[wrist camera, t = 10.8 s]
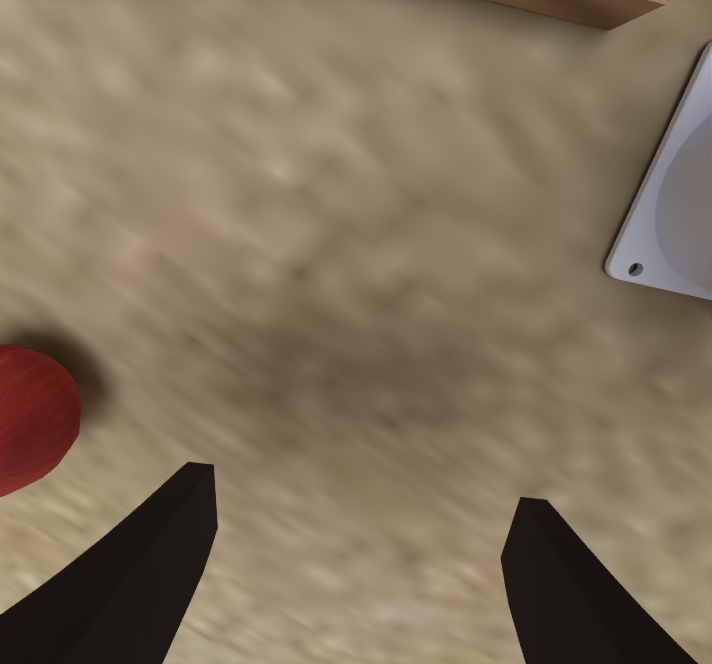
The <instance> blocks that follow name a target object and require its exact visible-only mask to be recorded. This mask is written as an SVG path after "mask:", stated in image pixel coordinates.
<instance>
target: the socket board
mask: <svg viewBox="0 0 712 664" xmlns="http://www.w3.org/2000/svg"><path fill="white" fill-rule="evenodd" d="M487 1H491V2H496V3H500V4H504V5H508V6H512V7H516V8H520V9H524V10H528V11H532V12H536V13H541V14H545V15H549V16H553V17H557V18H561V19H565V20H569V21H573V22H577V23H581V24H586V25H590V26H594V27H598V28H602V29H606V30H611V29H613V28H616V27H618V26H620V25H622V24H624V23H626V22H629V21H631V20H633V19H635V18H637V17H639V16H642V15H644V14H646V13H648V12H650V11H652V10H655V9H657V8H659V7H661V6H663V5H665V4H666V2H667V0H487Z"/></svg>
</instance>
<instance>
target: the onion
mask: <svg viewBox="0 0 712 664" xmlns="http://www.w3.org/2000/svg"><path fill="white" fill-rule="evenodd" d="M81 408H82V401H81V398H80V395H79V391H78V388H77V385H76V382H75V380H74V379H73V378H72V376H71V375H70V374H69V372H68V371H67V370H66V368H65V367H63V366H62V365H60V364H59V363H58V362H56V361H55V360H53V359H52V358H51V357H49V356H46V355H44V354H41V353H38V352H35V351H33V350H30V349H27V348H24V347H21V346H18V345H0V497H2V496H5V495H8V494H10V493H12V492H14V491H16V490H18V489H21V488H23V487H25V486H27V485H29V484H31V483H33V482H35V481H37V480H39V479H41V478H43V477H44V476H45V475H47V474H48V473H49V472H50V471H51V470H53V469H54V468H55V467H56V466H57V465H58V464H59V463H60V461H61V460H62V459H63V457H64V456H65V454H66V453H67V452H68V450H69V449H70V448H71V446H72V444H73V443H74V441H75V440H76V438H77V436H78V435H79V427H80V415H81Z"/></svg>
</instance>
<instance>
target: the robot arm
mask: <svg viewBox="0 0 712 664" xmlns="http://www.w3.org/2000/svg"><path fill="white" fill-rule="evenodd" d="M634 263H637V264H638V265H637V269H636V270H635V271H634V272H632V273H628V270H629V267H630V266H631V265H632V264H634ZM605 271H606V272H607V274H608V275H610V276H611V277H613V278H615V279H619V280H623V281H628V282H632V283H637V284H641V285H646V286H650V287H655V288H659V289H664V290H668V291H673V292H677V293H682V294H686V295H691V296H695V297H700V298H704V299H709V300H712V41H711V42H710V43H709V44H708V45H707V46H706V48H705V50H704V51H703V53H702V56H701V58H700V60H699V62H698V64H697V66H696V68H695V71H694V73H693V75H692V77H691V79H690V81H689V84H688V86H687V88H686V90H685V92H684V94H683V97H682V99H681V101H680V103H679V105H678V107H677V109H676V112H675V114H674V116H673V118H672V120H671V122H670V125H669V127H668V129H667V131H666V133H665V135H664V137H663V140H662V142H661V144H660V146H659V148H658V150H657V153H656V155H655V157H654V159H653V161H652V163H651V166H650V168H649V170H648V172H647V174H646V176H645V178H644V181H643V183H642V185H641V187H640V189H639V191H638V194H637V196H636V198H635V200H634V202H633V204H632V207H631V209H630V211H629V213H628V215H627V217H626V219H625V222H624V224H623V226H622V228H621V230H620V232H619V235H618V237H617V239H616V241H615V243H614V245H613V248H612V250H611V252H610V254H609V256H608V258H607V260H606V264H605ZM217 529H218V523H217V508H216V492H215V476H214V465H212V464H203V463H193V462H188V463H186V464H185V465H184V466H182V467H181V468H180V469H179V470H178V471H177V472H176V473H175V474H174V475H173V476H171V477H170V478H169V479H168V480H167V481H166V482H165V483H164V484H163V485H162V486H161V487H160V488H158V489H157V490H156V491H155V492H154V493H153V494H152V495H151V496H150V497H149V498H147V499H146V500H145V501H144V502H143V503H142V504H141V505H140V506H139V507H137V508H136V509H135V510H134V511H133V512H132V513H130V514H129V515H128V516H127V517H126V518H125V519H124V520H122V521H121V522H120V523H119V524H118V525H117V526H115V527H114V528H113V529H112V530H111V531H110V532H109V533H107V534H106V535H105V536H104V537H103V538H101V539H100V540H99V541H98V542H96V543H95V544H94V545H93V546H91V547H90V548H89V549H88V550H86V551H85V552H84V553H83V554H81V555H80V556H79V557H78V558H76V559H75V560H74V561H73V562H71V563H70V564H69V565H68V566H66V567H65V568H64V569H63V570H61V571H60V572H59V573H57V574H56V575H55V576H53V577H52V578H51V579H49V580H48V581H47V582H45V583H44V584H43V585H41V586H40V587H39V588H37V589H36V590H35V591H33V592H32V593H30V594H29V595H28V596H26V597H25V598H23V599H22V600H21V601H19V602H18V603H16V604H15V605H14V606H12V607H11V608H9V609H8V610H6V611H5V612H4V613H2V614H1V615H0V664H162V663H163V661H164V659H165V657H166V654H167V652H168V650H169V648H170V646H171V643H172V641H173V639H174V637H175V634H176V632H177V630H178V628H179V626H180V623H181V621H182V619H183V617H184V615H185V612H186V610H187V608H188V606H189V603H190V601H191V599H192V597H193V594H194V592H195V590H196V588H197V585H198V583H199V581H200V579H201V576H202V574H203V572H204V569H205V566H206V563H207V560H208V557H209V554H210V551H211V548H212V544H213V541H214V538H215V535H216V532H217ZM501 564H502V570H503V576H504V582H505V587H506V593H507V598H508V603H509V608H510V611H511V615H512V618H513V622H514V625H515V629H516V632H517V635H518V639H519V642H520V646H521V649H522V653H523V656H524V659H525V663H526V664H698V663H697V662H696V661H695V660H694V659H693V658H692V657H691V656H690V655H689V654H688V653H687V652H685V651H684V650H683V649H682V648H681V647H680V646H679V645H678V644H677V643H676V642H675V641H674V640H673V639H672V638H671V637H670V636H669V635H668V634H667V633H666V631H665V630H664V629H663V628H662V627H661V626H660V625H659V624H658V623H657V622H656V621H655V620H654V619H653V618H652V617H651V616H650V615H649V614H648V613H647V612H646V611H645V610H644V609H643V608H642V607H641V606H640V605H639V604H638V602H637V601H636V600H635V599H634V598H633V597H632V596H631V595H630V594H629V593H628V592H627V591H626V590H625V589H624V587H623V586H622V585H621V584H620V583H619V582H618V581H617V580H616V579H615V578H614V576H613V575H612V574H611V573H610V572H609V571H608V570H607V569H606V567H605V566H604V565H603V564H602V563H601V562H600V561H599V560H598V558H597V557H596V556H595V555H594V554H593V553H592V552H591V550H590V549H589V548H588V547H587V546H586V545H585V543H584V542H583V541H582V540H581V539H580V538H579V537H578V535H577V534H576V533H575V532H574V531H573V529H572V528H571V527H570V526H569V525H568V524H567V522H566V521H565V520H564V519H563V518H562V517H561V515H560V514H559V513H558V512H557V511H556V510H555V509H554V507H553V506H552V505H551V504H550V503H549V502H548V501H547V500H544V499H534V498H525V497H520V500H519V503H518V506H517V509H516V512H515V515H514V518H513V521H512V524H511V528H510V531H509V534H508V537H507V540H506V543H505V546H504V549H503V552H502V555H501Z"/></svg>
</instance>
